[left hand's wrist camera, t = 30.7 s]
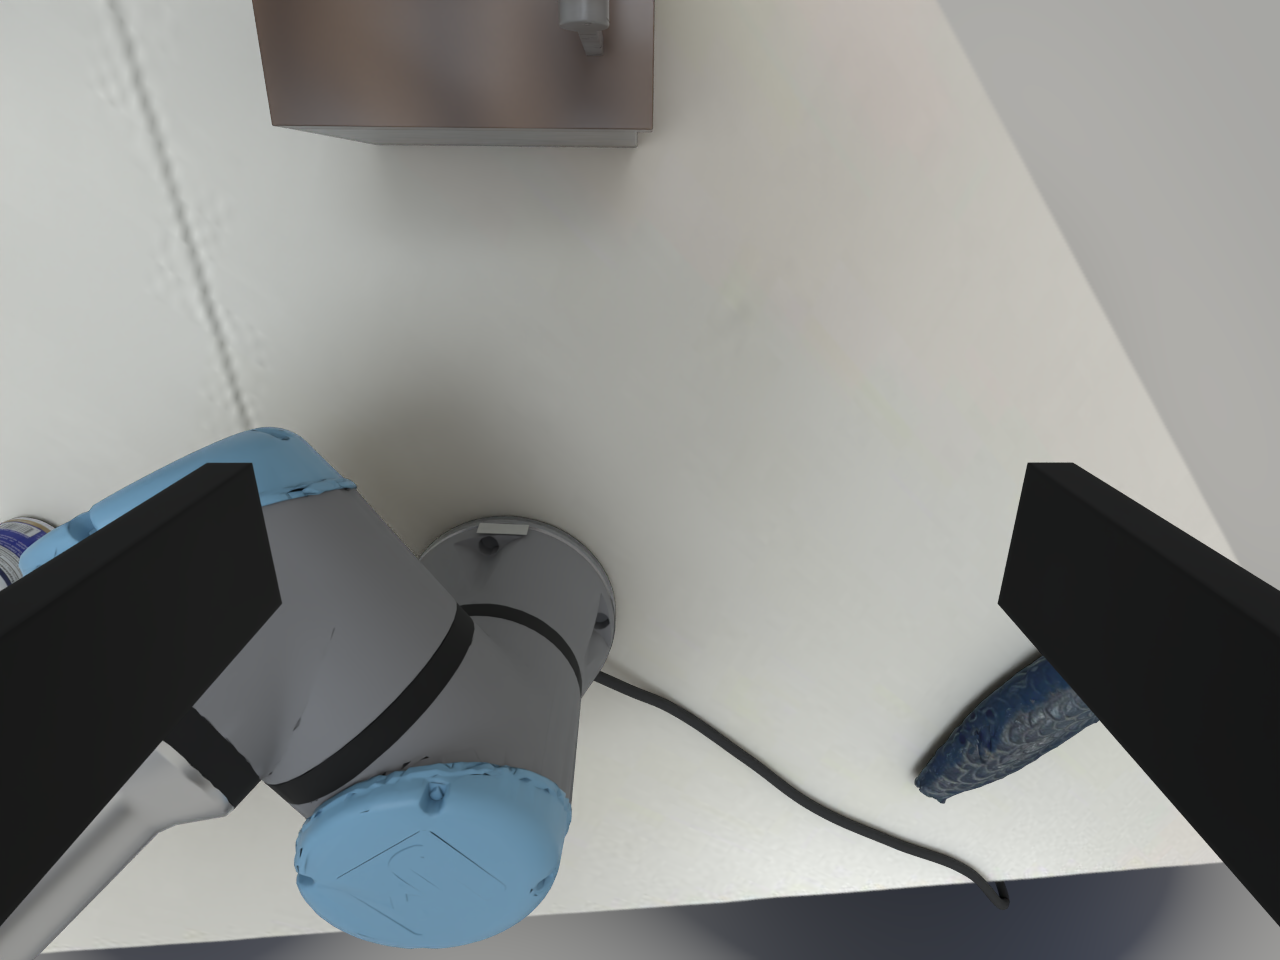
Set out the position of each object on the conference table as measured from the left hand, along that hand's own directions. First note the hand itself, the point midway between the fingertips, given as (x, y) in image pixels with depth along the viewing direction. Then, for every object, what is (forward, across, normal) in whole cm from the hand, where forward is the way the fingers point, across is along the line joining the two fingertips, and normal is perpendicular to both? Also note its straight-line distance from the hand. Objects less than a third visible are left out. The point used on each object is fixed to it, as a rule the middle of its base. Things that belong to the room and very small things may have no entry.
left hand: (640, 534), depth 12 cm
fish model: (+34, -29, +31) cm, 55 cm away
